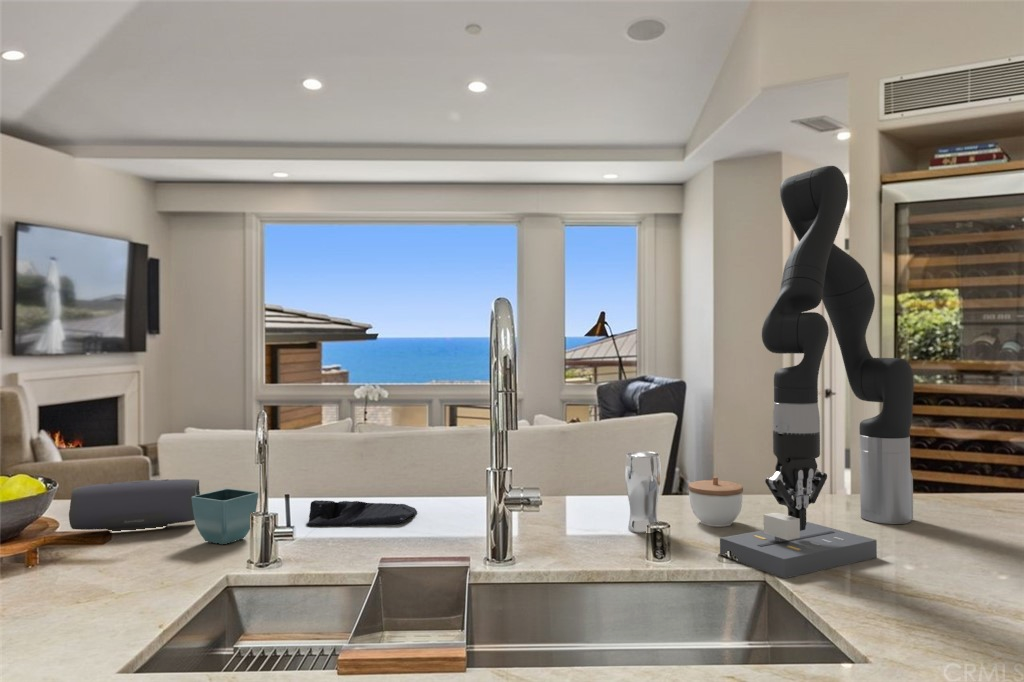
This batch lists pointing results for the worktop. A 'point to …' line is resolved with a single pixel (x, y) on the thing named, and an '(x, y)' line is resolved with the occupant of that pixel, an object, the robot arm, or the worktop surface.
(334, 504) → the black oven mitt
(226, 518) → the flower pot
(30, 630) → the worktop surface
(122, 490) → the bluetooth speaker
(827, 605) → the worktop surface
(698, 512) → the lidded jar
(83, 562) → the worktop surface
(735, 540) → the panel
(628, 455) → the beer glass
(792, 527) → the fader knob
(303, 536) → the worktop surface
